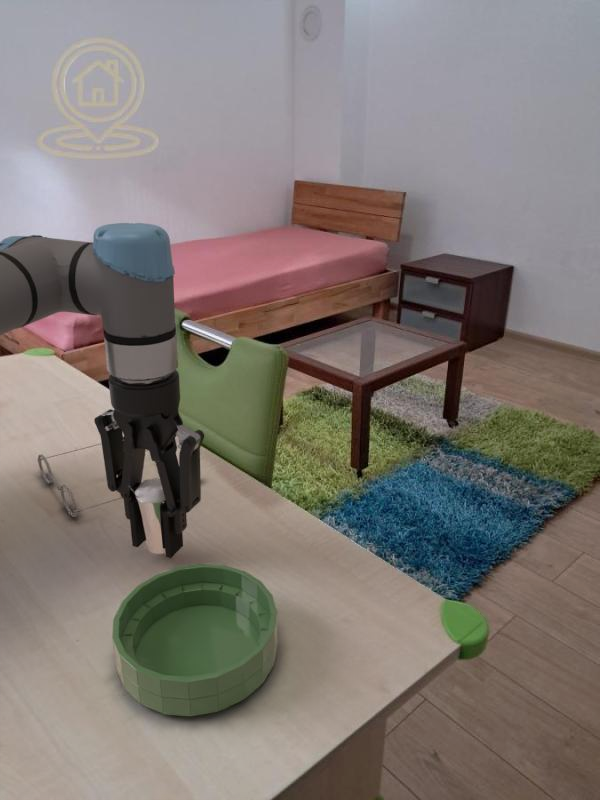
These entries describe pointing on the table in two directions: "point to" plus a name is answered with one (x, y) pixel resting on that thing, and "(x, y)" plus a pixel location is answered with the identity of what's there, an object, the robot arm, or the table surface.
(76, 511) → the eyeglasses
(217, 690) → the bowl
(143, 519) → the milkshake
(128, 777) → the table surface
